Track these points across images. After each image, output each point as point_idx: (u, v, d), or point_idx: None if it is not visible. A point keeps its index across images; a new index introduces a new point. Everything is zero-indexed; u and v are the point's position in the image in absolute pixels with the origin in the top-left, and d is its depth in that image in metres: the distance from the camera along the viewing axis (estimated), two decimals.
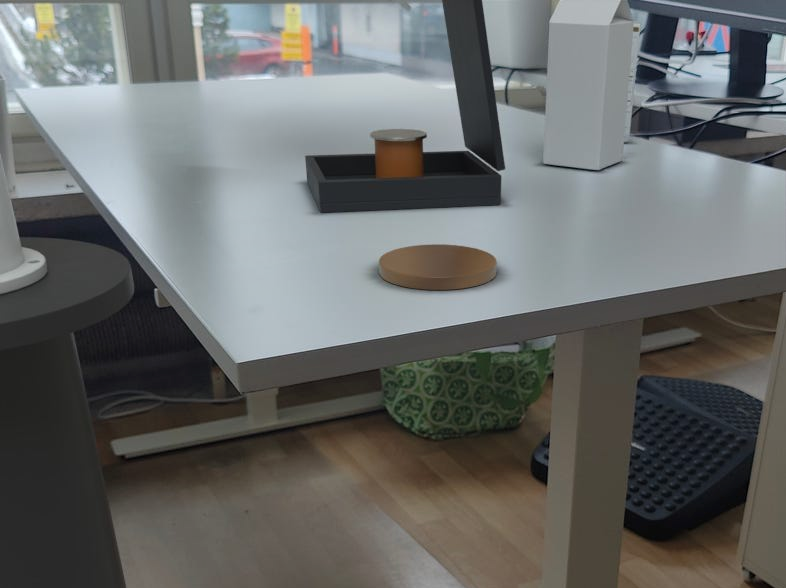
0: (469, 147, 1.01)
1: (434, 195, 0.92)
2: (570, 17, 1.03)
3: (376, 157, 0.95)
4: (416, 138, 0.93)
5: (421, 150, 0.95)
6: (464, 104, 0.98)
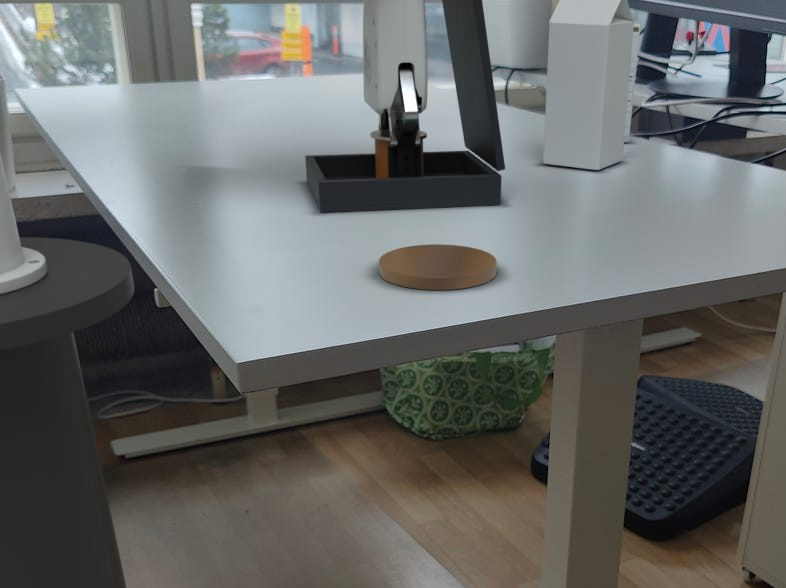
0: (469, 147, 1.01)
1: (434, 195, 0.92)
2: (570, 17, 1.03)
3: (376, 157, 0.95)
4: None
5: (421, 150, 0.95)
6: (464, 104, 0.98)
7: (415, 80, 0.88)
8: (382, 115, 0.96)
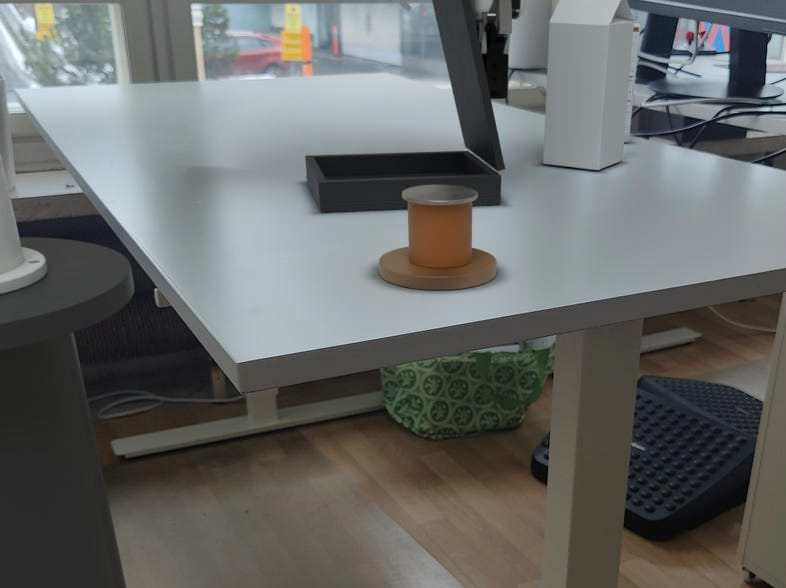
0: (469, 147, 1.01)
1: None
2: (570, 17, 1.03)
3: (410, 224, 0.71)
4: (465, 200, 0.69)
5: (470, 215, 0.71)
6: (461, 105, 0.98)
7: None
8: (477, 26, 0.92)
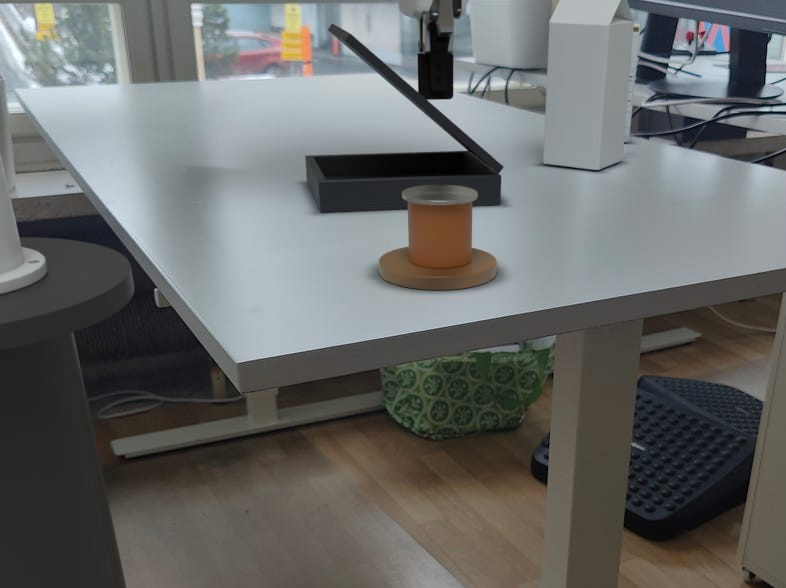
0: (468, 150, 1.01)
1: None
2: (570, 17, 1.03)
3: (410, 224, 0.71)
4: (465, 200, 0.69)
5: (470, 215, 0.71)
6: None
7: None
8: (421, 25, 0.91)
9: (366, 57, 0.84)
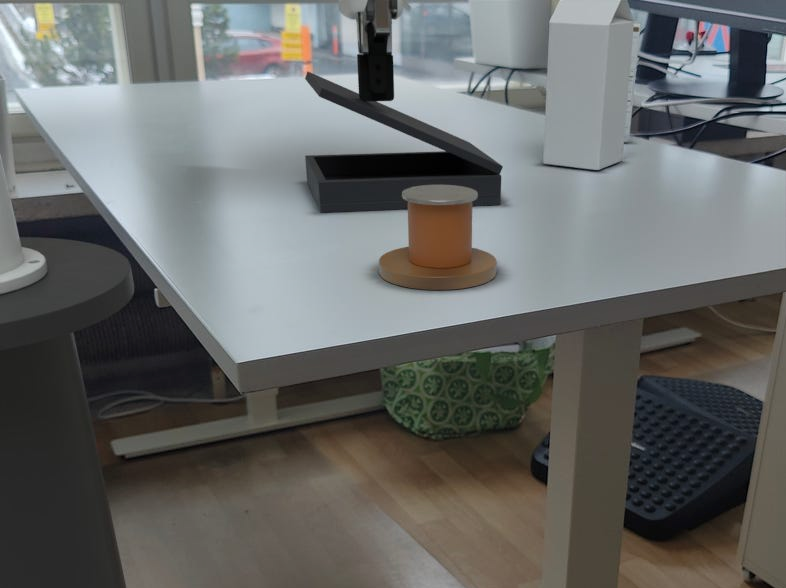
0: None
1: None
2: (570, 17, 1.03)
3: (410, 224, 0.71)
4: (465, 200, 0.69)
5: (470, 215, 0.71)
6: None
7: None
8: (360, 26, 0.90)
9: (343, 105, 0.86)
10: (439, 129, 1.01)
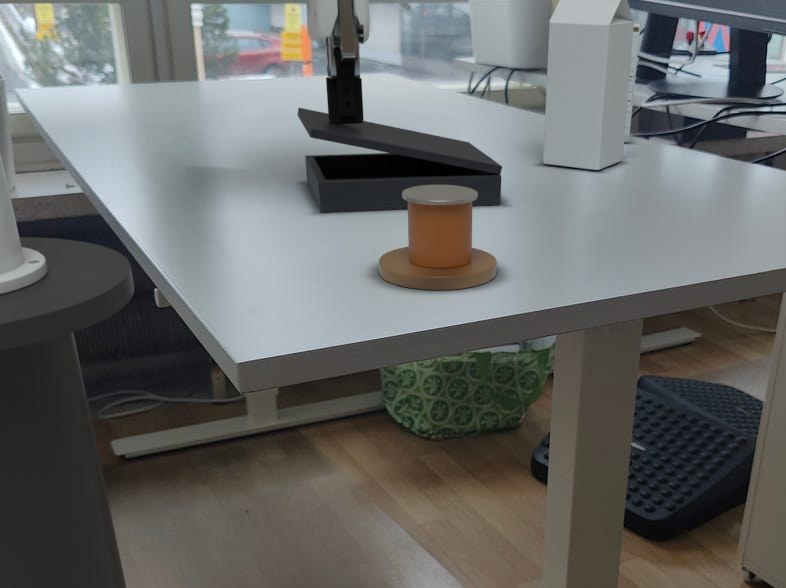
0: None
1: None
2: (570, 17, 1.03)
3: (410, 224, 0.71)
4: (465, 200, 0.69)
5: (470, 215, 0.71)
6: None
7: (355, 6, 0.84)
8: (328, 49, 0.90)
9: (335, 140, 0.87)
10: (436, 136, 1.02)
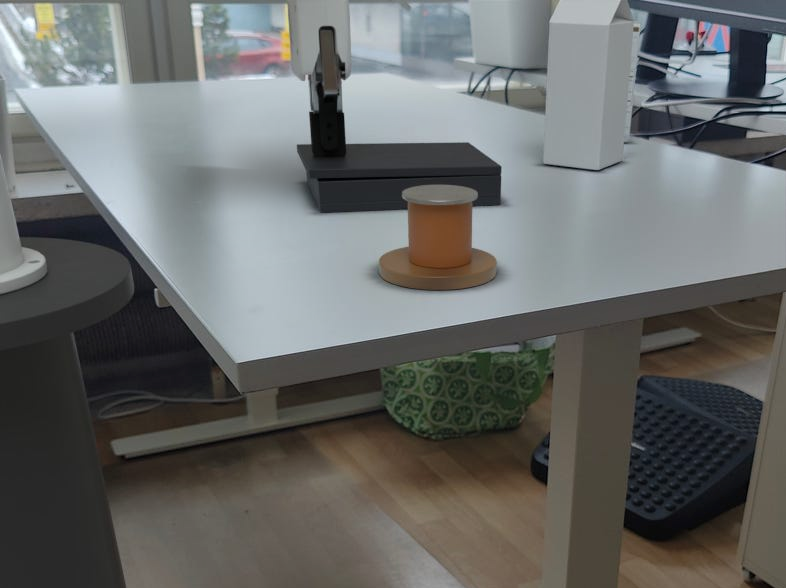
0: None
1: None
2: (570, 17, 1.03)
3: (410, 224, 0.71)
4: (465, 200, 0.69)
5: (470, 215, 0.71)
6: None
7: (337, 44, 0.85)
8: (311, 84, 0.91)
9: (334, 176, 0.88)
10: (435, 143, 1.02)
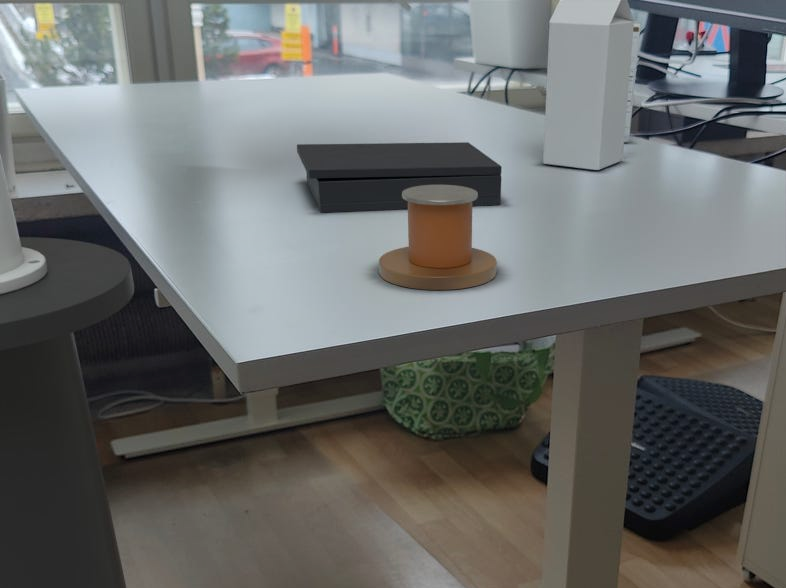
0: None
1: None
2: (570, 17, 1.03)
3: (410, 224, 0.71)
4: (465, 200, 0.69)
5: (470, 215, 0.71)
6: None
7: None
8: None
9: (334, 176, 0.89)
10: (435, 143, 1.02)
